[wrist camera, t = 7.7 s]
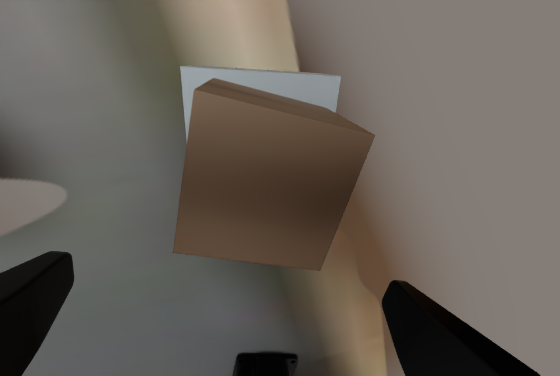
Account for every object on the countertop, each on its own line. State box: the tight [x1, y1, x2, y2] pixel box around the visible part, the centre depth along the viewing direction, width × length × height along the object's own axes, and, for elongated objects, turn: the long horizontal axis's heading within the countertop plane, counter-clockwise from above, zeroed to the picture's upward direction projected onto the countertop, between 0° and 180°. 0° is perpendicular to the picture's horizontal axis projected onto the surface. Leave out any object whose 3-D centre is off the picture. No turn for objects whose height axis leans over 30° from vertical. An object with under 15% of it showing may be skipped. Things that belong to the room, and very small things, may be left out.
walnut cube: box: [173, 78, 375, 271], centre depth 12 cm, size 6×6×6 cm
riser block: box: [180, 65, 341, 139], centre depth 17 cm, size 8×8×4 cm
